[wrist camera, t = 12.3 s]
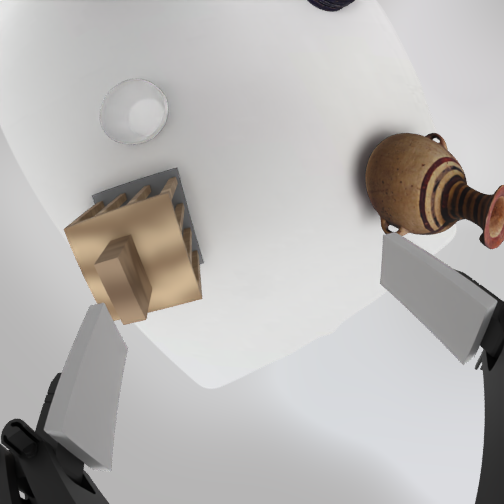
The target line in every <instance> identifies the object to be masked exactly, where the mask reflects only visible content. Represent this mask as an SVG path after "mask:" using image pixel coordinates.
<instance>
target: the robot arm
mask: <svg viewBox="0 0 504 504" xmlns="http://www.w3.org/2000/svg"><path fill="white" fill-rule="evenodd" d="M380 284H381V285H382V286H383V287H384V288H385V289H387V290H388V291H389V292H390V293H391V294H392V295H393V296H394V297H395V298H396V299H397V300H399V301H400V302H401V303H402V304H403V305H404V306H405V307H406V308H407V309H408V310H409V311H410V312H411V313H412V314H413V315H414V316H415V317H416V318H418V320H419V321H420V322H422V323H423V324H424V325H425V326H426V327H427V328H428V329H429V330H430V331H431V332H432V333H433V334H434V335H435V336H436V337H437V338H438V339H439V340H440V341H441V342H442V343H443V344H444V345H445V346H446V347H447V349H449V351H450V352H451V353H452V354H453V355H454V356H455V357H456V358H457V359H458V360H459V361H460V362H461V363H462V364H463V365H464V364H465V363H467V362H468V361H469V360H471V359H472V358H473V357H475V355H476V352H477V350H478V348H479V346H481V347H482V348H483V349H484V350H483V352H482V354H481V356H480V358H479V360H478V362H477V364H476V366H475V369H476V370H477V369H478V367H479V365H480V363H481V362H482V366H481V368H480V369H481V370H483V377H484V393H485V394H484V396H485V429H484V447H483V458H482V467H481V474H480V481H479V487H478V492H477V497H476V502H475V504H504V302H503V301H502V300H500V299H499V298H498V297H496V296H495V295H494V294H492V293H491V292H490V291H488V290H487V289H486V288H484V287H483V286H482V285H479V283H477V282H476V281H475V280H472V278H470V277H469V276H467V275H466V274H465V273H463V272H460V271H457V270H455V269H452V268H451V267H450V266H448V265H447V264H445V263H444V262H442V261H441V260H439V259H438V258H436V257H434V256H433V255H431V254H430V253H428V252H427V251H425V250H424V249H422V248H420V247H419V246H417V245H416V244H414V243H412V242H411V241H409V240H407V239H406V238H404V237H402V236H401V235H399V234H397V233H396V232H393V233H390V234H386V235H383V249H382V266H381V279H380ZM127 351H128V348H127V345H126V344H125V342H124V340H123V338H122V337H121V335H120V333H119V331H118V329H117V327H116V325H115V323H114V321H113V319H112V317H111V315H110V313H109V311H108V309H107V307H106V305H105V303H100V304H95V305H91V306H90V307H89V309H88V311H87V314H86V316H85V318H84V320H83V323H82V325H81V327H80V329H79V331H78V334H77V336H76V338H75V341H74V343H73V346H72V348H71V350H70V353H69V355H68V358H67V361H66V363H65V366H64V369H63V371H62V373H58V374H57V375H56V377H55V378H54V379H53V381H52V382H51V384H50V387H49V390H48V395H46V398H45V403H44V404H43V407H42V410H41V414H40V417H39V420H38V424H37V427H36V431H35V432H34V430H32V429H31V428H30V427H29V426H28V425H27V424H26V423H25V422H24V421H22V420H21V419H13V420H11V421H9V422H8V423H7V424H6V426H5V427H4V429H3V431H2V435H1V443H2V444H3V445H5V446H6V447H7V448H8V449H9V450H7V449H6V448H5V447H3V446H2V445H1V444H0V504H109V503H108V501H107V500H106V499H105V497H104V496H103V495H102V493H101V492H100V491H99V490H98V488H97V487H96V485H95V484H94V483H93V481H92V479H91V478H90V476H89V475H88V474H87V473H86V472H85V471H84V470H83V469H84V463H85V464H86V465H87V466H89V467H90V468H92V469H93V470H100V471H111V467H112V454H113V443H114V433H115V424H116V415H117V409H118V402H119V395H120V389H121V383H122V377H123V372H124V366H125V361H126V355H127ZM19 491H21V492H23V493H24V494H25V499H23V498H21V497H20V494H19Z"/></svg>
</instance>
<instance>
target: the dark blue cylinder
mask: <svg viewBox="0 0 504 504" xmlns="http://www.w3.org/2000/svg"><path fill="white" fill-rule="evenodd" d="M307 1H309V2H310V3H311V4H312V5H314V6H315V7H317V8H319V9H322V10H325V11H338V10H340V9H342V8H343V7H345V6H347V5H349V4H350V3H352V2H354V1H355V0H307Z"/></svg>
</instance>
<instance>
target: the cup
mask: <svg viewBox="0 0 504 504" xmlns="http://www.w3.org/2000/svg"><path fill="white" fill-rule="evenodd" d="M167 116H168V103H167V99H166V97H165V95H164V93H163V92H162V91H161V90H160V89H159V88H158V87H157V86H155V85H154V84H153V83H151V82H149V81H146V80H143V79H130V80H126V81H123V82H121V83H119V84H118V85H116V86H115V87H114V88H112V89H111V90H110V91H109V93H108V94H107V95H106V97H105V98H104V100H103V102H102V105H101V109H100V122H101V126H102V128H103V130H104V132H105V133H106V134H107V135H108V136H109V137H110V138H111V139H113V140H114V141H116V142H119V143H124V144H130V145H135V144H141V143H144V142H146V141H149V140H150V139H152V138H153V137H155V136H156V135H157V134H158V133H159V132H160V131H161V129H162V128H163V126H164V124H165V122H166V120H167Z"/></svg>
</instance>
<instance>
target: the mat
mask: <svg viewBox="0 0 504 504" xmlns="http://www.w3.org/2000/svg"><path fill="white" fill-rule="evenodd" d="M173 177H176V179H177V183H178V184H177V187H176V190H175V192H174V195H173V198H172V204H173V207H174V211H175V208H176V205H177V204H181V203H183V204H184V208H185V209H184V218H183V227H182V237H183V232H184V229H186V228H191V232H192V251H196V250H197V251H198V255H199V264H202V263H204V262H203V259H202V255H201V252H200V249H199V245H198V242H197V239H196V235H195V232H194V228H193V225H192V221H191V218H190V214H189V210H188V207H187V203H186V200H185V196H184V192H183V188H182V185H181V181H180V177H179V173H178V169H177V168H174V169H171V170H167V171H164V172H161V173H157V174H154V175H151V176H147V177H144V178H141V179H138V180H135V181H132V182H129V183H126V184H123V185H120V186H117V187H115V188H112V189H109V190H106V191H103V192H101V193H98V194H95V195H93V196H92V197H93V200H94V203H95V204H96V203H98V202H101V201H103V203H104V206H105V207H106V206H107V205H108V204H109V203H110V202H112V201H113V200H114V199H115V198H116V197H118V196H119V195H120V194H123V193H125V194H126V197H127V200H126V201H125V202H124V203H123V204H122V205H121V206H120V207H122V206H125V205H127V204H128V203H129V202H130V200H131V199H132V198H133V197H134V196H135V195H136V194H137V193H138V192H139V191H140V190H141V189H142V188H143V187H144V186H147V185H150V188H151V193H150V194H149V195H148V197H147V198H149V197H153V196H156V195H159V194H160V193H161V191H162V189H163V188H164V186H165V185H166V183H167V181H168V180H169V179H170V178H173ZM105 207H104V208H105Z"/></svg>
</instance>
